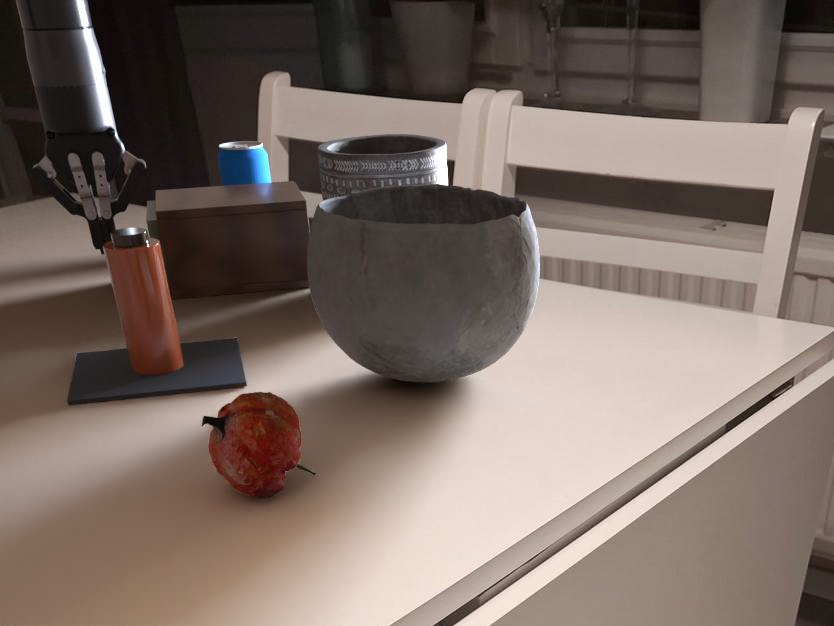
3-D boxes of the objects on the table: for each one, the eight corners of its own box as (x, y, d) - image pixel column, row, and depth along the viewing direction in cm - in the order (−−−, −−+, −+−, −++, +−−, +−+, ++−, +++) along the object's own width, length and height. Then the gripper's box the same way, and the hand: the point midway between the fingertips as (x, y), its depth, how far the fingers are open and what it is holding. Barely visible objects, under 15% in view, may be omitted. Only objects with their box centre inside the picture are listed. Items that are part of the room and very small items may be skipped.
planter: (354, 311, 112) (339, 159, 103) (317, 281, 122) (301, 140, 113) (470, 294, 116) (467, 147, 107) (425, 266, 126) (418, 130, 117)
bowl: (495, 425, 85) (493, 231, 75) (281, 399, 90) (255, 216, 81) (564, 350, 100) (569, 181, 90) (377, 332, 105) (364, 171, 96)
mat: (68, 405, 91) (66, 400, 90) (77, 356, 101) (76, 352, 101) (247, 386, 93) (246, 381, 93) (237, 341, 104) (237, 337, 104)
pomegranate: (282, 488, 81) (167, 434, 75) (330, 412, 78) (215, 349, 72) (304, 536, 76) (184, 483, 70) (356, 457, 73) (236, 394, 67)
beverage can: (275, 237, 141) (261, 139, 134) (282, 247, 136) (269, 146, 129) (228, 241, 140) (212, 142, 132) (235, 251, 135) (218, 150, 127)
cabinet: (172, 299, 117) (155, 211, 112) (171, 272, 127) (155, 190, 121) (316, 286, 120) (306, 200, 115) (304, 261, 130) (294, 180, 124)
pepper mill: (131, 377, 95) (98, 239, 87) (132, 360, 99) (101, 227, 91) (185, 372, 96) (157, 235, 88) (183, 355, 100) (157, 223, 92)
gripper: (0, 85, 104) (46, 264, 114) (132, 80, 106) (165, 256, 117) (8, 78, 110) (52, 249, 120) (133, 73, 112) (165, 241, 123)
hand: (108, 252), depth 119 cm, fingers closed
